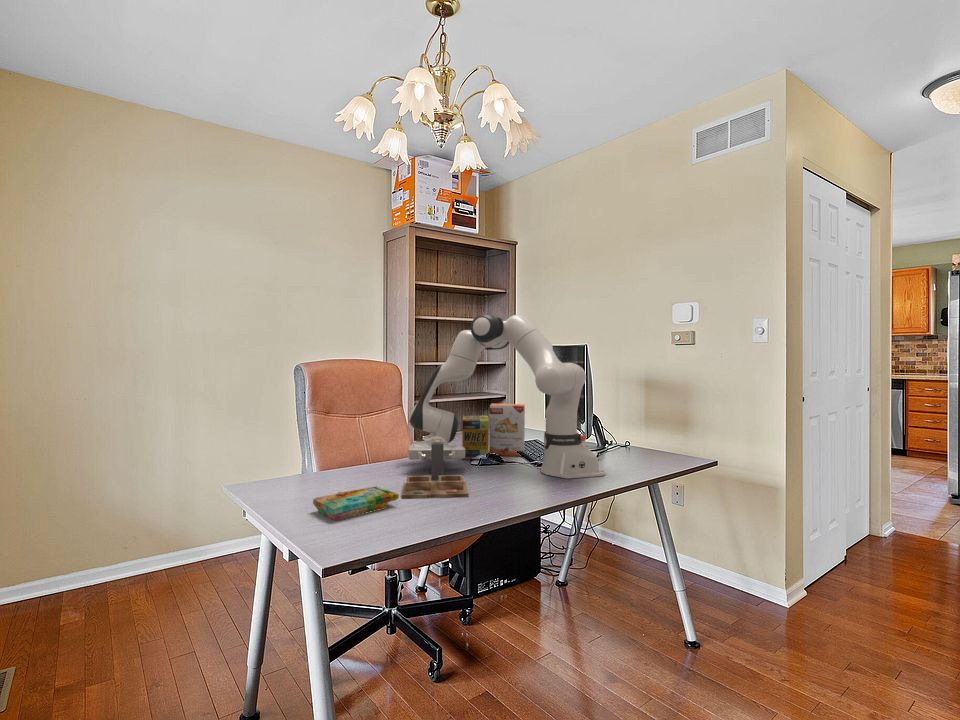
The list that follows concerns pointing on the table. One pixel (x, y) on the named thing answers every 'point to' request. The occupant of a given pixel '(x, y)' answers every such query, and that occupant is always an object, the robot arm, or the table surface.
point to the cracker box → (507, 429)
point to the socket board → (434, 487)
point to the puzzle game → (354, 502)
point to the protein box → (475, 435)
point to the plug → (436, 459)
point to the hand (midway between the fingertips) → (436, 457)
